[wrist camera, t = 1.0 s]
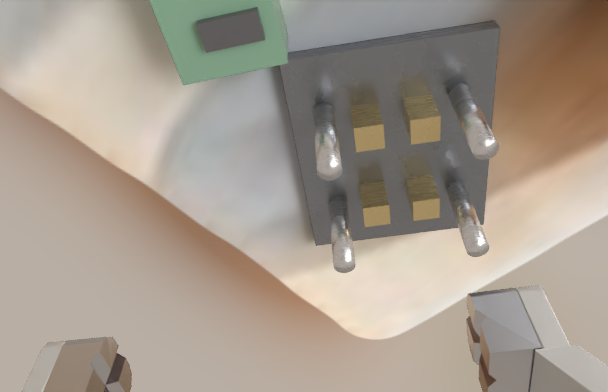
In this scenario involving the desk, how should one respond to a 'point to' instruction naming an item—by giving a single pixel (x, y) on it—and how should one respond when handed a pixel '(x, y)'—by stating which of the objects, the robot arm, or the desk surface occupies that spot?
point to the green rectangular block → (222, 36)
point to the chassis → (395, 135)
